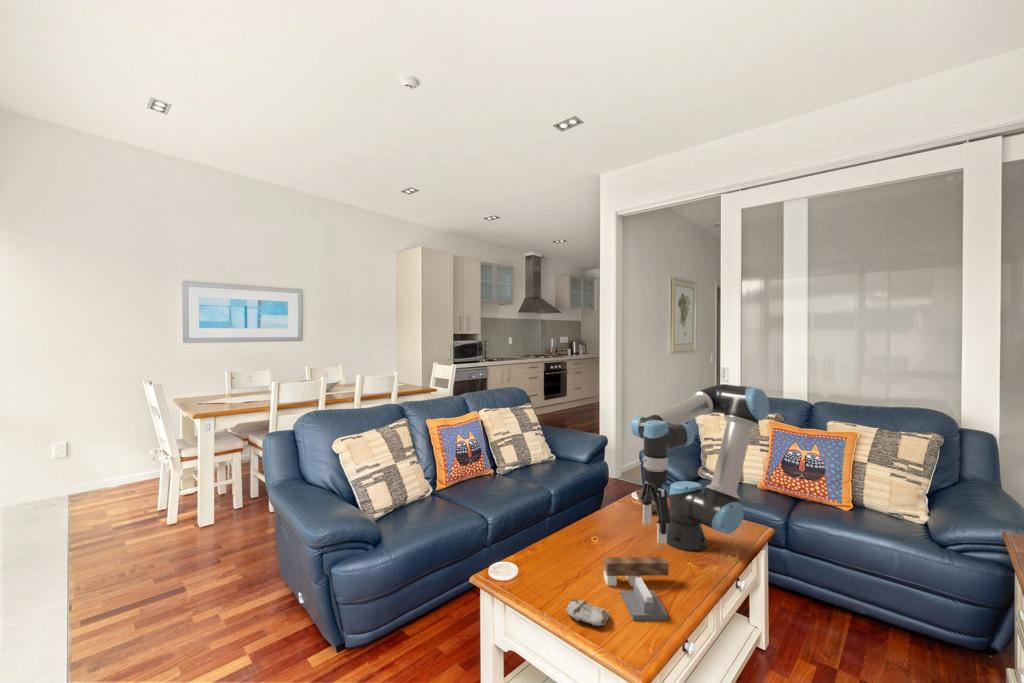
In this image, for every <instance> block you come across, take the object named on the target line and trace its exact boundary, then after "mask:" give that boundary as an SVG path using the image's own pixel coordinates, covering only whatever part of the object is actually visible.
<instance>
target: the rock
mask: <svg viewBox="0 0 1024 683" xmlns="http://www.w3.org/2000/svg"><path fill="white" fill-rule="evenodd" d="M642 490H643V488H641V489H638V490H635V493H636V496H637V500H638V501H639V503H641V505H642V506H643V505H644V504H643V503H642V501H643V500H641V494H642ZM649 505H651V506H652V513H654V512H655V511H657V510H656V506H655V502H654V501H653V499H652V504H649Z"/></svg>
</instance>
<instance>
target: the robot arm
mask: <svg viewBox="0 0 1024 683" xmlns="http://www.w3.org/2000/svg"><path fill="white" fill-rule="evenodd" d="M769 411H770V402H769V398H768V396H767V394H766V392H765V391H764V390H763V389H761V388H758V387H753V386H743V385H734V384H726V383H725V384H724V383H723V384H715V385H711V386H708V387H706V388H703V389H700V390H698V391H696V392H693V394H692V396H691V397H688V398H687V399H685V400H683V401H682V400H681V401H680V402H679V403H675V404H674V405H671V406H669V407H667V408H664V409H663V410H661V411H658V412H656V413H654V414H652V415H649V416H647V417H644V416H636V417H634V418H633V419H632V421H631V423H630V431H631V433H632V435H634V436H635V437H637V438H640V439H643V458H641V461H642V462H643V468H642V469H643V470H642V471H643V472H642V479H643V486H642V489H643V490H642V494H641V500H643V501H642V503H643V504H644V505H642V525H643V526H644V525H646V526H649V525H652V515H653V514H652V513H653V512H652V506H651V505H649V504H652V499H653V501H654V502H655V506H656V510H655V511H656V514H657V519H658V520H657V521H656V524H657V527H656V528H657V531H656V534H657V538H656V542H657V544H668V545H669V546H671V547H673V548H675V549H678V550H682V551H687V550H690V551H689V552H692V551H691V550H699V551H701V550H700V549H702V550H704V549H705V548H706V547H707V540H706V539H707V538H706V535H705V532H704V529H703V527H702V525H703V526H705V527H708V528H710V529H712V530H714V531H717V532H721V533H722V534H731V533H734V532H735V531H736V530H738V529H739V528H740V526H741V525H742V522H743V519H744V515H745V514H744V513H745V512H744V507H743V506H742V504H741V503H740V499H741V498H740V496H739V495H738V492H737V491H738V488H739V483H740V480H741V475H742V471H743V468H744V464H745V460H746V455H747V450H748V447H749V443H750V440H751V439H750V438H751V434H752V430H753V429H755V428H756V427H758V426H759V422H760V421H764V420H766V418H767V417H769V413H770V412H769ZM713 413H716V414H723V417H724V420H725V421H726V423H725V424H726V425H725V429H724V433H723V437H722V441H721V444H720V448H719V453H718V455H717V456H718V457H717V459H716V460H717V461H716V462H715V467H714V471H713V476H712V479H711V483H709V484H708V485H706V486H705V488H704V490H703V486H702V484H701V483H699V482H695V481H689V480H683V481H682V480H681V481H675V482H672V483H671V484H670V485H669V486H670V487H669V493H668V495H669V497H668V496H667V492H668V491H667V489H663V484H665V483H667V481H668V469H669V468H668V467H669V456H668V454H669V453H668V452H669V451H668V450H670V449H677V448H685V447H687V446H691V445H692V444H693V442H694V440H695V431H694V429H693V428H692V427H691V426H690V425H689V424H686V423H687V422H690V421H691V420H693V419H695V418H698V417H699V416H702V415H703V416H707V415H710V414H713ZM668 498H669V500H668ZM705 546H706V547H705ZM704 547H705V548H704ZM703 548H704V549H703Z"/></svg>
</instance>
